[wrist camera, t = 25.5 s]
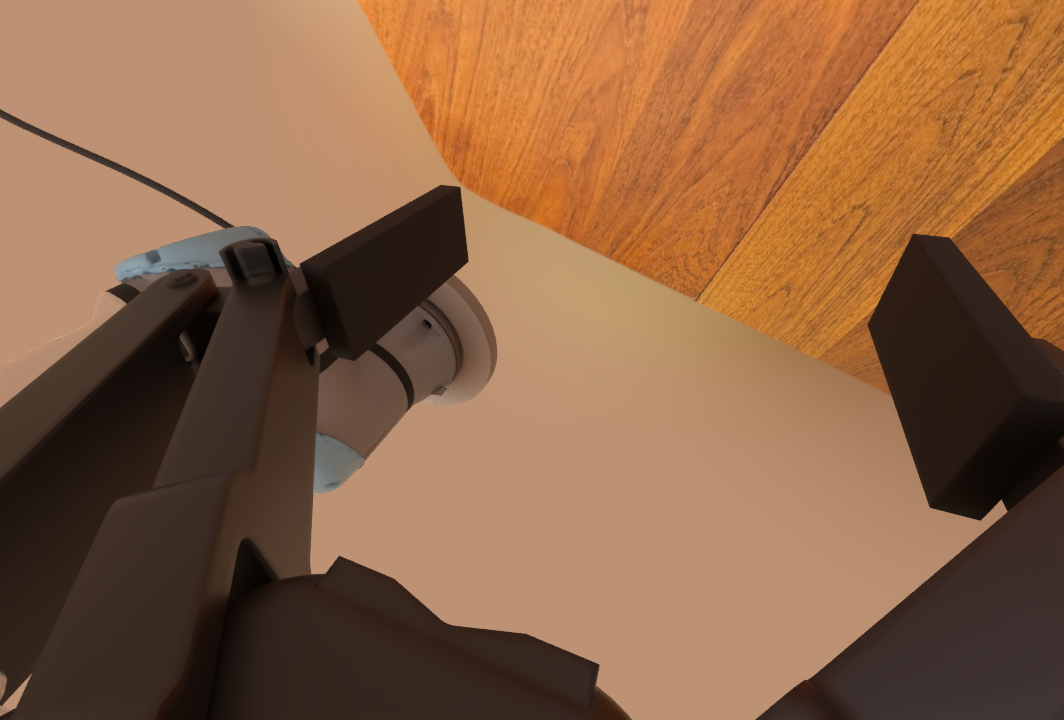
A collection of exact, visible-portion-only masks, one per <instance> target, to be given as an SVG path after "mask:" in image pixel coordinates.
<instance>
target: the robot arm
mask: <svg viewBox="0 0 1064 720" xmlns="http://www.w3.org/2000/svg"><path fill="white" fill-rule="evenodd" d="M0 117H1V118H3V119H5V120H7V121H9V122H11V123H13V124H15V125H17V126H19V127H21V128H23V129H25V130H27V131H29V132H31V133H33V134H35V135H38V136H40V137H42V138H44V139H46V140H49V141H51V142H53V143H55V144H57V145H60V146H62V147H64V148H66V149H69V150H71V151H73V152H76V153H78V154H80V155H82V156H85V157H87V158H89V159H91V160H93V161H96V162H98V163H100V164H102V165H105V166H107V167H109V168H111V169H114V170H116V171H118V172H120V173H122V174H125V175H126V176H129V177H131V178H133V179H135V180H137V181H139V182H141V183H143V184H145V185H147V186H149V187H151V188H153V189H155V190H157V191H159V192H161V193H163V194H165V195H167V196H169V197H170V198H172V199H174V200H176V201H178V202H180V203H181V204H183V205H185V206H187V207H189V208H191V209H192V210H194V211H196V212H198V213H199V214H201V215H203V216H204V217H206V218H208V219H210V220H211V221H213V222H214V223H216V224H218V225H219V226H221V227H223V228H224V229H223V230H219V231H214V232H211V233H206V234H203V235H199V236H195V237H191V238H188V239H184V240H181V241H178V242H174V243H171V244H168V245H165V246H162V247H160V248H159V249H157V250H151V251H149V252H147V253H142V254H139V255H135V256H133V257H131V258H128V259H126V260H123V261H121V262H120V263H118V264H117V265H116V266H115V269H114V270H115V273H116V279H117V280H118V281H119V282H120V281H121V282H122V284H121V285H118V286H116V287H114V288H112V289H109V290H107V291H105V292H103V293H100V294H99V296H98V300H97V304H96V308H95V312H94V316H93V317H92V319H91V321H90V322H89V323H88V324H86V325H83V326H81V327H79V328H77V329H75V330H73V331H71V332H69V333H66V334H64V335H62V336H60V337H58V338H56V339H54V340H52V341H50V342H47V343H45V344H43V345H41V346H39V347H37V348H35V349H33V350H30V351H28V352H26V353H24V354H22V355H20V356H18V357H16V358H14V359H12V360H9V361H7V362H5V363H3V364H1V365H0V720H632V719H631V718H630V717H629V716H628V714H627V713H626V712H625V711H624V710H623V709H622V708H621V707H620V706H619V705H618V704H617V703H616V702H615V701H614V700H613V699H612V698H611V697H610V696H608V695H607V694H606V693H605V692H603V691H602V690H601V689H600V688H599V687H597V686H596V683H597V677H598V671H599V664H597V663H594V662H592V661H590V660H587V659H585V658H582V657H580V656H578V655H575V654H573V653H570V652H568V651H566V650H563V649H561V648H558V647H556V646H554V645H551V644H549V643H546V642H544V641H542V640H539V639H537V638H535V637H532V636H530V635H527V634H522V633H512V632H505V631H496V630H487V629H477V628H469V627H461V626H453V625H449V624H447V623H445V622H443V621H442V620H440V619H439V618H438V617H437V616H436V615H435V614H434V613H432V612H431V611H430V610H429V609H428V608H427V607H426V606H425V605H423V604H422V603H421V602H420V601H419V600H418V599H417V598H415V597H414V596H413V595H412V594H411V593H410V592H409V591H407V590H406V589H405V588H404V587H403V586H402V585H401V584H399V583H398V582H397V581H396V580H395V579H393V578H391V577H388V576H386V575H384V574H381V573H379V572H377V571H374V570H372V569H369V568H367V567H365V566H362V565H360V564H358V563H355V562H353V561H350V560H348V559H346V558H343V557H341V556H339V557H338V558H337V560H336V561H335V562H334V564H333V565H332V566H331V567H330V569H329V570H328V571H327V572H326V574H311V569H310V547H311V528H312V508H313V507H312V506H313V493H327V492H330V491H333V490H335V489H337V488H339V487H340V486H341V485H342V484H343V483H344V482H345V481H346V480H347V479H348V478H349V477H350V476H351V475H352V474H353V473H354V472H355V471H356V470H357V469H359V468H361V467H362V466H363V465H364V461H365V460H366V459H367V458H368V457H369V456H370V454H371V453H372V452H373V451H374V450H375V448H376V447H377V446H378V445H379V444H380V443H381V441H382V440H383V439H384V438H385V437H386V436H387V434H388V433H389V432H390V431H391V430H392V428H393V427H394V426H395V425H396V424H397V423H398V422H399V420H400V419H401V418H402V417H403V416H404V414H405V413H406V412H407V411H408V410H409V409H410V408H411V407H412V405H414V404H416V403H418V402H420V401H421V400H423V399H425V398H426V397H428V396H429V395H430V394H435V395H442V394H443V393H444V391H445V390H446V389H447V388H445V387H446V386H448V385H449V384H450V383H451V382H452V381H453V379H454V378H455V377H456V376H457V375H458V373H459V371H460V369H461V367H462V363H463V349H462V344H461V341H460V338H459V336H458V333H457V331H456V329H455V328H454V326H453V324H452V323H451V322H450V320H449V319H448V318H447V316H446V315H445V314H444V313H443V312H442V311H441V310H440V309H439V308H438V307H437V306H436V305H435V304H434V303H432V302H431V301H430V300H428V299H427V298H428V297H429V296H430V295H431V294H432V293H433V292H434V291H436V290H437V289H438V288H439V287H440V286H441V285H442V284H443V283H445V282H446V281H447V280H448V279H449V278H450V277H451V276H453V275H454V274H455V273H456V272H457V271H458V270H459V269H461V268H462V267H463V266H464V265H465V264H466V263H467V262H468V252H467V244H466V235H465V225H464V216H463V207H462V199H461V190H460V187H455V186H445V185H440V186H438V187H436V188H435V189H433V190H431V191H429V192H427V193H426V194H424V195H422V196H420V197H418V198H417V199H415V200H413V201H411V202H409V203H408V204H406V205H404V206H402V207H401V208H399V209H397V210H395V211H393V212H392V213H390V214H388V215H386V216H384V217H383V218H381V219H379V220H377V221H375V222H374V223H372V224H370V225H368V226H367V227H365V228H363V229H361V230H359V231H358V232H356V233H354V234H352V235H350V236H349V237H347V238H345V239H343V240H342V241H340V242H338V243H336V244H335V245H333V246H331V247H329V248H327V249H325V250H324V251H322V252H320V253H318V254H316V255H315V256H313V257H311V258H309V259H308V260H306V261H304V262H302V263H300V267H298V268H297V267H295V266H294V265H293V264H292V263H291V262H290V261H288V260H287V259H286V258H285V256H284V255H283V254H282V252H281V250H280V248H279V245H278V242H277V240H274V239H272V238H270V236H269V235H268V234H266V233H265V232H264V231H262V230H260V229H258V228H255V227H250V226H240V227H235V226H233V225H231V224H230V223H228V222H227V221H225V220H223V219H222V218H220V217H218V216H217V215H215V214H214V213H212V212H210V211H208V210H207V209H205V208H203V207H201V206H200V205H198V204H196V203H195V202H193V201H191V200H189V199H187V198H186V197H184V196H182V195H180V194H178V193H176V192H175V191H173V190H171V189H169V188H167V187H165V186H163V185H161V184H159V183H157V182H155V181H153V180H151V179H149V178H147V177H145V176H143V175H141V174H139V173H137V172H135V171H133V170H131V169H129V168H126V167H124V166H122V165H120V164H118V163H116V162H113V161H111V160H109V159H107V158H104V157H102V156H100V155H98V154H95V153H93V152H91V151H88V150H86V149H84V148H81V147H79V146H77V145H75V144H73V143H70V142H68V141H66V140H63V139H61V138H59V137H57V136H54V135H52V134H50V133H48V132H45V131H43V130H41V129H39V128H37V127H35V126H33V125H30V124H28V123H26V122H24V121H22V120H20V119H18V118H16V117H14V116H12V115H10V114H8V113H6V112H4V111H2V110H0ZM868 327H869V330H870V333H871V336H872V339H873V342H874V345H875V348H876V351H877V354H878V357H879V360H880V363H881V366H882V369H883V371H884V374H885V377H886V380H887V383H888V386H889V389H890V392H891V395H892V398H893V400H894V404H895V407H896V410H897V412H898V415H899V418H900V421H901V424H902V427H903V430H904V433H905V436H906V439H907V442H908V445H909V447H910V451H911V453H912V457H913V460H914V462H915V465H916V468H917V471H918V474H919V477H920V480H921V483H922V486H923V489H924V492H925V494H926V498H927V501H928V503H929V506H930V508H933V509H937V510H941V511H945V512H949V513H953V514H957V515H961V516H965V517H968V518H972V519H977V520H982V518H984V517H985V516H986V515H987V514H988V513H989V512H990V511H991V509H993V507H994V506H995V505H996V504H997V503H998V502H999V501H1000V500H1001V499H1002V501H1003V503H1004V505H1005V507H1006V509H1007V511H1008V512H1007V513H1006V514H1005V515H1004V516H1003V517H1002V518H1000V519H999V520H998V521H997V522H995V523H994V524H993V525H992V526H991V527H989V528H988V529H987V530H986V531H985V532H984V533H982V534H981V535H980V536H979V537H978V538H976V539H975V540H974V541H973V542H972V543H971V544H969V545H968V546H967V547H966V548H965V549H963V550H962V551H961V552H960V553H959V554H958V555H956V556H955V557H954V558H953V559H952V560H950V561H949V562H948V563H947V564H946V565H944V566H943V567H942V568H941V569H940V570H939V571H937V572H936V573H935V574H934V575H933V576H931V577H930V578H929V579H928V580H927V581H926V582H924V583H923V584H922V585H921V586H920V587H918V588H917V589H916V590H915V591H914V592H912V593H911V594H910V595H909V596H908V597H907V598H905V599H904V600H903V601H902V602H901V603H899V604H898V605H897V606H896V607H895V608H894V609H892V610H891V611H890V612H889V613H888V614H887V615H885V616H884V617H883V618H882V619H881V620H879V621H878V622H877V623H876V624H875V625H873V626H872V627H871V628H870V629H869V630H868V631H866V632H865V633H864V634H863V635H862V636H860V637H859V638H858V639H857V640H856V641H855V642H854V643H852V644H851V645H850V646H849V647H847V648H846V649H845V650H844V651H843V652H842V653H840V654H839V655H838V656H837V657H836V658H834V659H833V660H832V661H831V662H830V663H828V664H827V665H826V666H825V667H824V668H823V669H821V670H820V671H819V672H818V673H817V674H815V675H814V676H813V677H811V678H810V679H809V680H804V681H803V682H801V683H800V684H799V685H797V686H796V687H794V688H793V689H792V690H791V691H790V692H788V693H787V694H786V695H785V696H783V697H782V698H781V699H780V700H778V701H777V702H776V703H775V704H774V705H772V706H771V707H770V708H769V709H768V710H766V711H765V712H764V713H763V714H762V715H761V716H759V717H758V718H757V719H756V720H1064V352H1063V351H1062V350H1060V349H1059V348H1057V347H1056V346H1054V345H1052V344H1051V343H1049V342H1048V341H1046V340H1043V339H1037V338H1031V336H1030V335H1029V334H1028V333H1027V332H1026V330H1025V329H1024V328H1023V327H1022V325H1021V324H1020V323H1019V322H1018V321H1017V319H1016V318H1015V317H1014V316H1013V315H1012V313H1011V312H1010V311H1009V310H1008V308H1007V307H1006V306H1005V305H1004V304H1003V302H1002V301H1001V300H1000V299H999V298H998V296H997V295H996V294H995V293H994V291H993V290H992V289H991V288H990V287H989V285H988V284H987V283H986V282H985V281H984V279H983V278H982V277H981V276H980V274H979V273H978V272H977V271H976V270H975V268H974V267H973V266H972V265H971V264H970V262H969V261H968V260H967V259H966V257H965V256H964V255H963V254H962V253H961V251H960V250H959V249H958V248H957V247H956V245H955V244H954V243H953V242H952V240H951V239H950V238H948V237H939V236H929V235H919V234H913V235H912V237H911V239H910V241H909V243H908V245H907V247H906V249H905V251H904V253H903V255H902V257H901V259H900V261H899V263H898V265H897V267H896V269H895V271H894V273H893V275H892V277H891V279H890V281H889V283H888V285H887V287H886V289H885V291H884V293H883V295H882V297H881V299H880V301H879V303H878V305H877V307H876V309H875V311H874V313H873V315H872V317H871V319H870V321H869V323H868ZM32 672H33V673H32ZM31 673H32V675H31ZM29 675H31V677H30V680H29V681H28V684H27V686H26V688H25V690H24V692H23V694H22V697H21V699H20V701H19V703H18V705H17V708H15V709H13V710H11V711H10V710H9V709H7V708H5V707H2V705H3V704H4V703H5V702H6V701H7V699H8V698H9V697H10V696H11V695H12V694H13V693H14V692H15V691H16V690H17V689H18V688H19V686H21V684H22V683H23V682H24V681H25V680H26V679H27V678H28V677H29Z"/></svg>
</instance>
